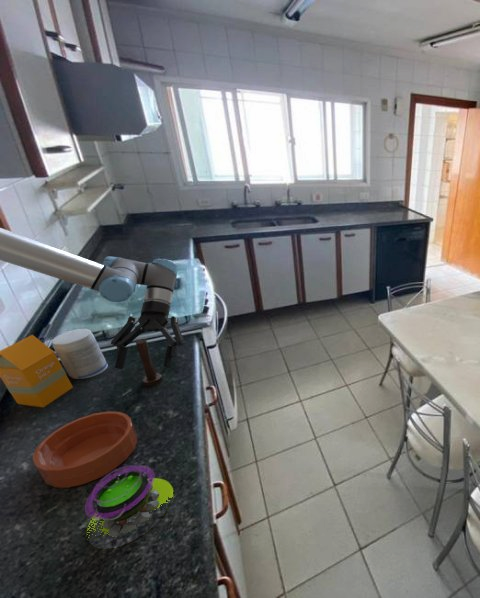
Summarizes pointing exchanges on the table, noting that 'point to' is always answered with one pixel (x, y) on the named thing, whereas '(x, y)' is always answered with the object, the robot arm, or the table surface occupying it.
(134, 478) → the toy cauldron
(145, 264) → the robot arm
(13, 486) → the table surface
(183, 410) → the table surface
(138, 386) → the table surface
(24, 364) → the orange juice
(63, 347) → the supplement tub
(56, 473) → the bowl
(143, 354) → the wooden masher
